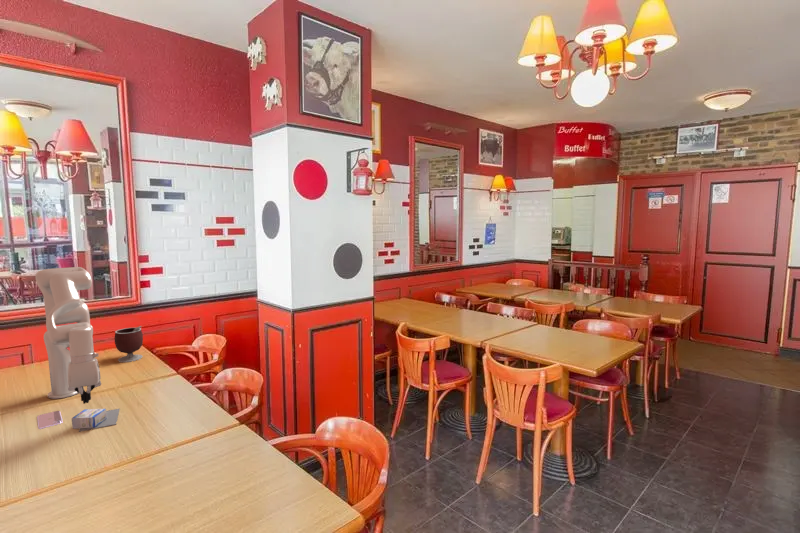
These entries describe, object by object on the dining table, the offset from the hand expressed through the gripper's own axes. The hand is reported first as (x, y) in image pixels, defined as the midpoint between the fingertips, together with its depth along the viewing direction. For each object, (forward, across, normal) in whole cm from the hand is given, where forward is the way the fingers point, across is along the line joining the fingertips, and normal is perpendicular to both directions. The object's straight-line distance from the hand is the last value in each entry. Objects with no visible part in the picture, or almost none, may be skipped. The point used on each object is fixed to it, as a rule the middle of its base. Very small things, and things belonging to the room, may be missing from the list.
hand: (86, 402), depth 173 cm
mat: (+8, -4, 0) cm, 9 cm away
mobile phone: (+9, +14, -10) cm, 19 cm away
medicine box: (+6, +3, +1) cm, 7 cm away
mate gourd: (+10, -10, -83) cm, 84 cm away
